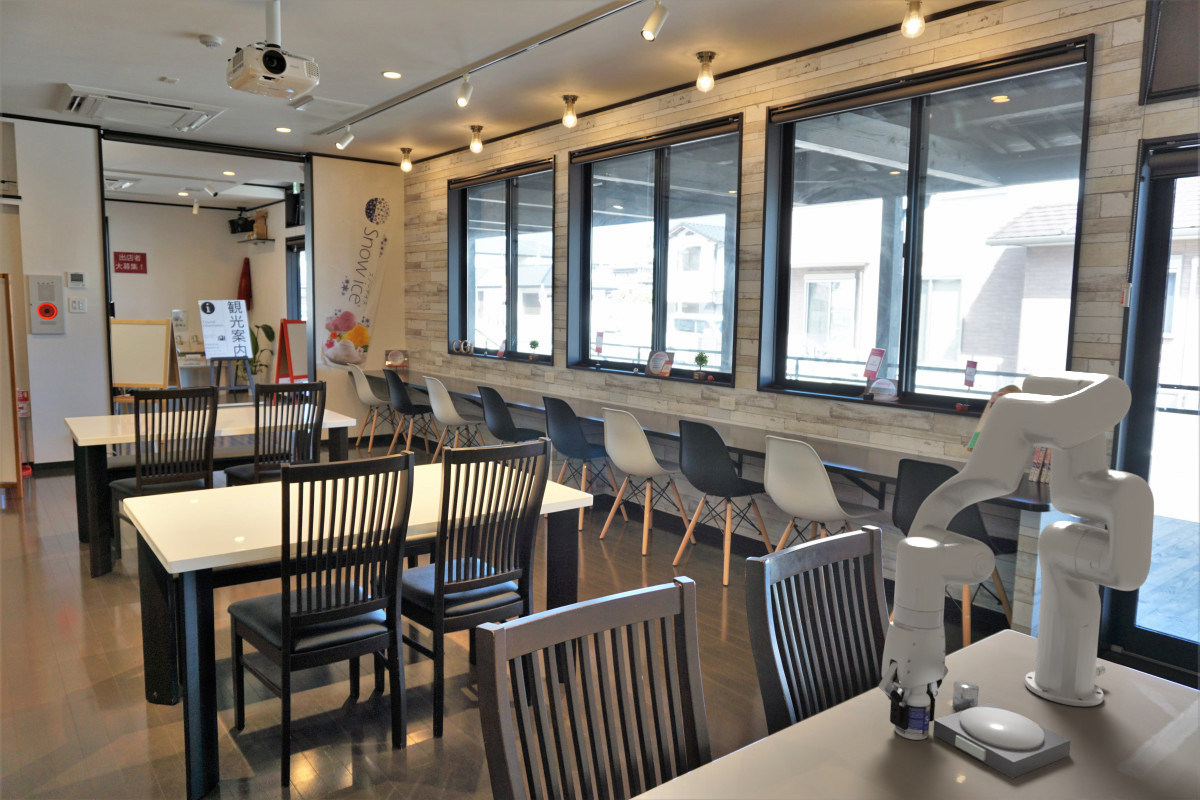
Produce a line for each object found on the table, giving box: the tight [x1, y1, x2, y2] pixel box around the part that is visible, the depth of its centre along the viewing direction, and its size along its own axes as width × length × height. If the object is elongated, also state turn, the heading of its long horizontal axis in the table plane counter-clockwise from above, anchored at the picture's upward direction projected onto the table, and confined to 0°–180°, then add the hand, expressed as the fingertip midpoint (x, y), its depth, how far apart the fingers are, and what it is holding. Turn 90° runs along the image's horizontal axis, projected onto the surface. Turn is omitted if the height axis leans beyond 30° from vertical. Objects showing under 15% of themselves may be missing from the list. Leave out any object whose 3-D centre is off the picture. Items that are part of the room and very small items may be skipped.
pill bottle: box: [894, 684, 930, 741], centre depth 130 cm, size 5×5×9 cm
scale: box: [932, 701, 1071, 779], centre depth 127 cm, size 14×14×3 cm
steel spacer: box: [951, 680, 980, 712], centre depth 140 cm, size 4×4×4 cm
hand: (911, 720), depth 131 cm, fingers closed on pill bottle, 5 cm apart
